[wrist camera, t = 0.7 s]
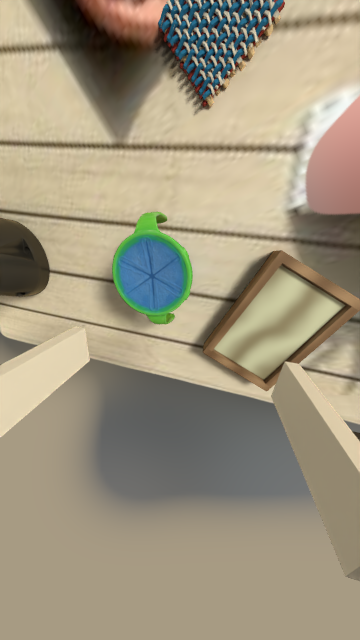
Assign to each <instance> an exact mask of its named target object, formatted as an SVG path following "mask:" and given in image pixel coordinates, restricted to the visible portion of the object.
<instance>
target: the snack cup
mask: <svg viewBox="0 0 360 640" xmlns="http://www.w3.org/2000/svg"><path fill="white" fill-rule="evenodd" d="M166 221H167V217H166V216H165V215H164V214H162V213H160V212H153V213H152V212H151V213H145V214H143V215H142V216H141V217H140V218H139V220H138V223H137V225H136V229H135V232H134V234H132V235H131V236H129V237H128V238H126V239H125V240H124V241H123V242H122V243H121V244H120V246H119V247H118V249H117V251H116V253H115V255H114V259H113V266H112V273H113V279H114V283H115V286H116V288H117V291H118V292H119V294H120V296H121V297H122V299H123V300H124V301H125V302H126V303H127V304H128V305H129V306H130V307H132V308H133V309H134V310H136V311H138V312H140V313H143V314H146V315H147V316H148V318H149V319H150V320H151V321H152V322H153V323H155V324H168V323H170V322H171V321H172V320H173V319H174V317H175V315H174V314H171V313H170V312H172V311H174V310H175V309H177V308H178V307H179V306H180V305H181V304H182V303H183V302H184V300H187V298H188V296H189V294H190V288H191V284H192V276H193V275H192V267H191V263H190V260H189V255H188V253H187V251H186V250H185V248H184V247H182V246H181V245H180V244H179V243H178V242H176V241H175V240H174V239H173V238H171V237H170V236H168V235H166V234H163V233H161V232H160V231H159V229H158V227H157V224H158V223H163V222H166Z"/></svg>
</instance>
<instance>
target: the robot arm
mask: <svg viewBox="0 0 360 640" xmlns="http://www.w3.org/2000/svg"><path fill="white" fill-rule="evenodd" d="M48 279H49V265H48V260H47V257H46V254H45V252H44V249H43V247H42V246H41V244H40V242H39V241H38V239H37V238H36V237H35V236H34V234H33V233H32V232H31V231H30V230H29V229H27V228H26V227H25V226H23V225H22V224H20V223H18V222H16V221H13V220H9V219H3V218H0V295H6V296H19V297H22V296H29V295H34V294H38V293H40V292H41V291H42V290H43V289H44V288H45V287H46V285H47V283H48ZM89 361H90V358H89V351H88V345H87V338H86V332H85V328H82V327H76V326H75V327H73V328H71V329H69V330H67V331H65V332H63V333H61V334H59V335H58V336H56V337H54V338H52V339H50V340H48V341H46V342H44V343H42V344H40V345H38V346H36V347H34V348H33V349H31V350H29V351H27V352H25V353H23V354H21V355H19V356H17V357H15V358H13V359H11V360H9V361H8V362H6V363H4V364H1V365H0V437H1V436H3V435H4V434H5V433H6V432H7V431H8V430H10V428H12V427H13V426H14V425H15V424H16V423H18V422H19V421H20V420H21V419H22V418H23V417H25V416H26V415H27V414H28V413H29V412H31V411H32V410H33V409H34V408H35V407H36V406H37V405H39V404H40V403H41V402H42V401H43V400H44V399H46V398H47V397H48V396H49V395H50V394H51V393H52V392H54V391H55V390H56V389H57V388H58V387H60V386H61V385H62V384H63V383H64V382H65V381H66V380H68V379H69V378H70V377H71V376H72V375H74V374H75V373H76V372H77V371H78V370H79V369H81V368H82V367H83V366H84V365H85V364H86V363H88V362H89ZM271 397H272V399H273V402H274V404H275V407H276V409H277V412H278V414H279V416H280V419H281V421H282V424H283V426H284V429H285V431H286V433H287V436H288V438H289V441H290V443H291V445H292V448H293V450H294V453H295V455H296V458H297V460H298V463H299V465H300V467H301V470H302V472H303V475H304V477H305V479H306V482H307V484H308V487H309V489H310V492H311V494H312V497H313V499H314V501H315V504H316V506H317V509H318V511H319V513H320V516H321V518H322V521H323V523H324V526H325V528H326V531H327V533H328V535H329V538H330V540H331V543H332V545H333V547H334V550H335V552H336V555H337V557H338V560H339V562H340V565H341V567H342V569H343V572H344V574H345V576H346V577H348V578H351V579H355V580H358V581H360V433H357V432H353V431H351V430H350V428H349V427H348V426H347V424H346V423H345V422H344V421H343V419H342V418H341V417H340V416H339V414H338V413H337V412H336V411H335V409H334V408H333V407H332V405H331V404H330V403H329V402H328V400H327V399H326V398H325V397H324V395H323V394H322V393H321V391H320V390H319V389H318V388H317V386H316V385H315V384H314V383H313V381H312V380H311V379H310V377H309V376H308V375H307V374H306V372H305V371H304V370H303V369H302V367H301V366H300V365H299V364H297V363H291V362H284V365H283V367H282V370H281V372H280V375H279V377H278V380H277V383H276V385H275V388H274V390H273V393H272V395H271Z"/></svg>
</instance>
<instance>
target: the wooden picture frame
mask: <svg viewBox="0 0 360 640" xmlns="http://www.w3.org/2000/svg"><path fill="white" fill-rule="evenodd" d="M358 311H360V299H358V298H357V297H355V296H354V295H352V294H350V293H349V292H347V291H346V290H344V289H342V288H341V287H339V286H338V285H336V284H334V283H333V282H331V281H330V280H328V279H326V278H325V277H323V276H322V275H320V274H318V273H317V272H315V271H314V270H312V269H310V268H309V267H307V266H306V265H304V264H302V263H301V262H299V261H298V260H296V259H294V258H293V257H291V256H290V255H288V254H286V253H285V252H283V251H282V250H281V251H273V252H272V254H271V255H270V256H269V258H268V259H267V260H266V262H265V263H264V264H263V266H262V267H261V268H260V270H259V271H258V272H257V274H256V275H255V276H254V278H253V279H252V280H251V282H250V283H249V284H248V286H247V287H246V288H245V290H244V291H243V292H242V294H241V295H240V296H239V298H238V299H237V300H236V302H235V303H234V304H233V306H232V307H231V308H230V310H229V311H228V312H227V314H226V315H225V316H224V318H223V319H222V320H221V322H220V323H219V324H218V326H217V327H216V328H215V330H214V331H213V332H212V334H211V335H210V336H209V338H208V339H207V340H206V342H205V343H204V347H203V353H204V354H206V355H208V356H209V357H211V358H213V359H214V360H216V361H217V362H219V363H221V364H222V365H224V366H226V367H227V368H229V369H231V370H232V371H234V372H236V373H237V374H239V375H240V376H242V377H244V378H245V379H247V380H249V381H250V382H252V383H254V384H255V385H257V386H258V387H260V388H262V389H263V390H265V391H268V390H269V389H270V388H271V387H272V386H273V385H275V384H276V383H277V380H278V377H279V375H280V372H281V370H282V367H283V365H284V362H291V363H297V364H299V363H300V362H301V361H302V360H303V359H304V358H306V357H307V356H308V355H309V354H310V353H311V352H313V351H314V350H315V349H316V348H317V347H318V346H319V345H321V344H322V343H323V342H324V341H325V340H326V339H327V338H329V337H330V336H331V335H332V334H333V333H334V332H335V331H337V330H338V329H339V328H340V327H341V326H342V325H344V324H345V323H346V322H347V321H348V320H349V319H350V318H352V317H353V316H354V315H355V314H356V313H357V312H358Z"/></svg>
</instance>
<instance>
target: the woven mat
mask: <svg viewBox="0 0 360 640" xmlns="http://www.w3.org/2000/svg"><path fill="white" fill-rule="evenodd" d="M166 3H167V4H165V6H164V7H163V11H162V14H161V18H160V20H159V22H158V26H159V31H160V32H161V33H162V31H163V32H164V33H165V36H164V39H163V40H164V41H165V43H166V41H168V43H167V44H168V46H169V48H170V47H171V45H172V48H171V50H172V52H173V54H174V53H175V54H176V59H177V60H179V59H180V60H181V63H180V68H181V69H182V68H184V72H185V74H186V72H188V74H189V75H188V76H187V77H188V79H189V81H190V79H191V81H192V82H191V84H192V86H194V85H196V88H195V91H196V93H197V92H198V91H199V98H200V99H201V98H202V97H203V99H204V100H205V101H203V104H202V105H203V106H204V107H205V106H206V105H209V107H211V106H212V105H213V102H214V101H213V99H212V98H213V96H214V94H216V95H217V96H218V94H219V93H220V90H219V87H220V86H221V85H222V86H223V87H224V88H227V86H228V85H229V79H228V78H227V77H228V75H230V77H233V76H234V75H235V67H236V66H237V65H238V66H239V68H240V70H241V71H242V69H243V68H244V67H245V66H246V64H245V63H244V61H243V58H245V57H246V56H247V55H248V58H249V59H250V58H251V57H252V56H253V55H254V46H255V45H256V47H257V46H258V45H259V44H260V43H261V40H260V37H261V35H262V34H263V33H264V34H265V35H266V36H269V35H270V34H271V33H272V31H273V25H272V21H273V20H274V22H275V24H277V22H278V21H279V20H280V19H281V18H280V14H279V13H280V11H281V10H282V9H283V8H284V5H285V2H284V0H170V1H167V2H166ZM173 5H174V6H173ZM206 11H207V12H206ZM167 12H168V13H167ZM266 16H267V17H266ZM187 27H188V28H187ZM209 88H210V89H209ZM208 89H209V90H208Z"/></svg>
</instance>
